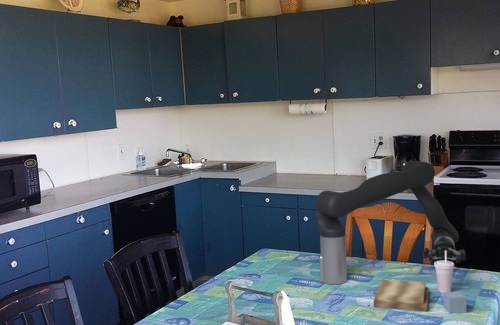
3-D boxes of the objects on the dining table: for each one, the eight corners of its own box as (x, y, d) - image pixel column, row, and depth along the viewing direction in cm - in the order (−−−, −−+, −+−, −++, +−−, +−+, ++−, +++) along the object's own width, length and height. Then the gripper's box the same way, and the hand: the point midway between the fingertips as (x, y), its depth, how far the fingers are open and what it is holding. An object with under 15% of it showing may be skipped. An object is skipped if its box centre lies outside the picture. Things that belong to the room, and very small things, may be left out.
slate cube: (449, 314, 158) (449, 298, 157) (443, 307, 163) (443, 292, 162) (466, 313, 158) (466, 297, 157) (459, 306, 162) (459, 291, 162)
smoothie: (456, 294, 172) (455, 253, 171) (435, 294, 173) (435, 253, 172) (452, 287, 178) (452, 248, 177) (433, 287, 180) (432, 247, 178)
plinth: (373, 307, 166) (373, 294, 165) (379, 289, 181) (379, 278, 180) (426, 311, 160) (426, 298, 160) (428, 293, 175) (428, 281, 175)
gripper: (424, 237, 202) (423, 248, 187) (464, 238, 197) (465, 250, 182) (425, 256, 203) (423, 269, 188) (464, 257, 198) (466, 271, 183)
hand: (444, 259), depth 185 cm, fingers open, 8 cm apart
